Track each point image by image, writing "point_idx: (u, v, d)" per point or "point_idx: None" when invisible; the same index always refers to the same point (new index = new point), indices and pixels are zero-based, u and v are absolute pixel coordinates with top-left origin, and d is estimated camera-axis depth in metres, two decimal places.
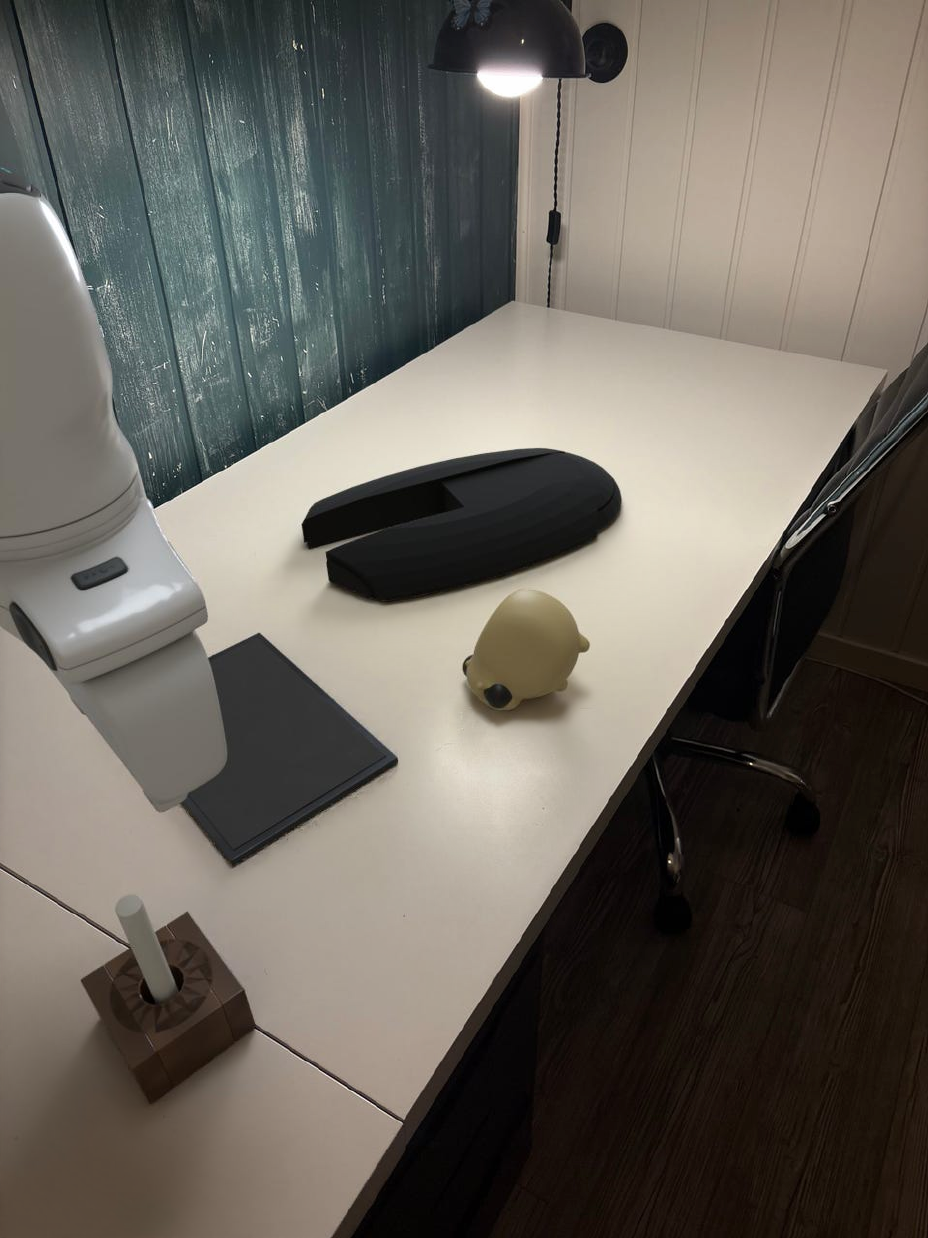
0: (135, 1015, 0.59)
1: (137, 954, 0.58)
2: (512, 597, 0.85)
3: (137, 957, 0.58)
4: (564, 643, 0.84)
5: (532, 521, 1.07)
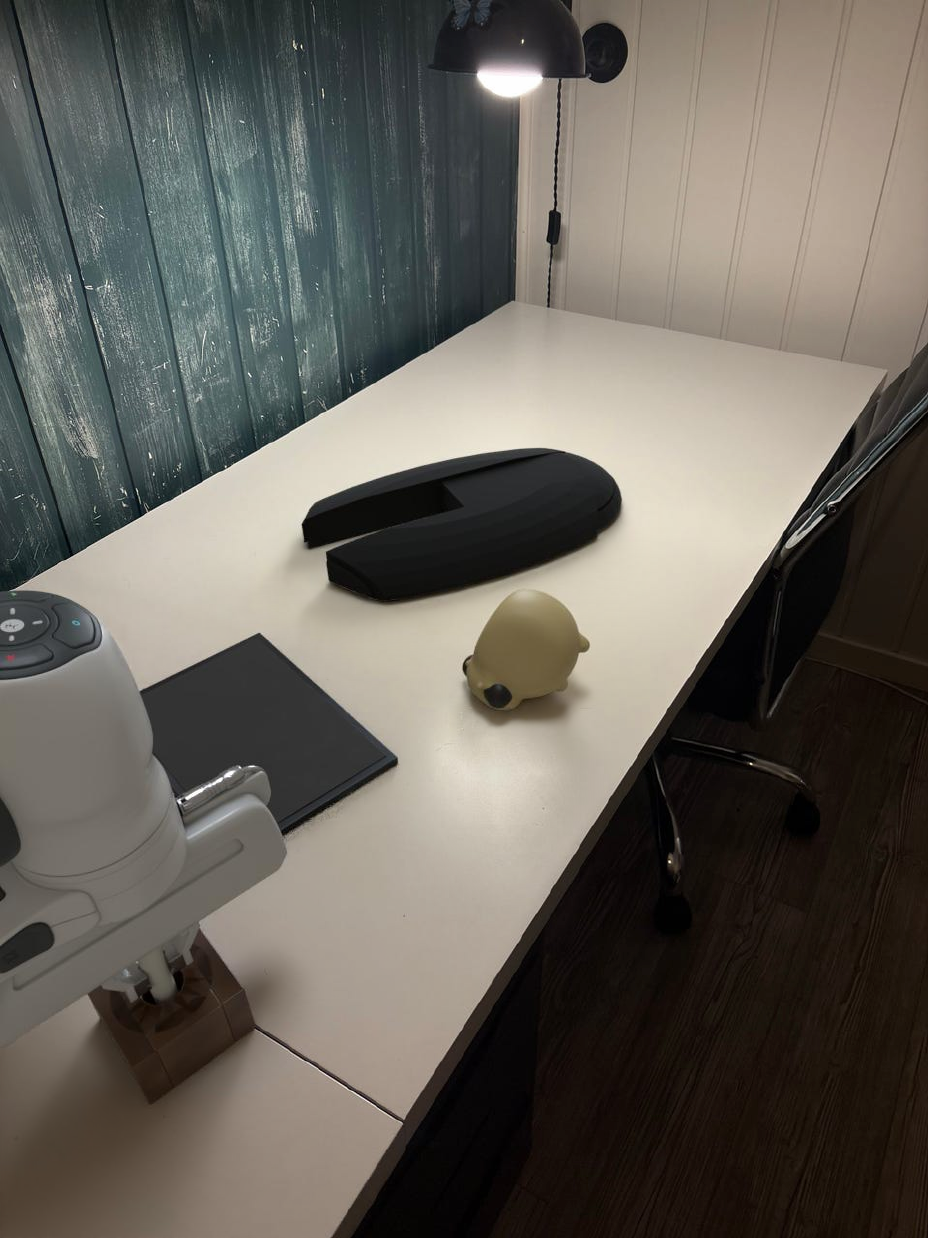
0: (135, 1015, 0.59)
1: None
2: (512, 597, 0.85)
3: None
4: (564, 643, 0.84)
5: (532, 521, 1.07)
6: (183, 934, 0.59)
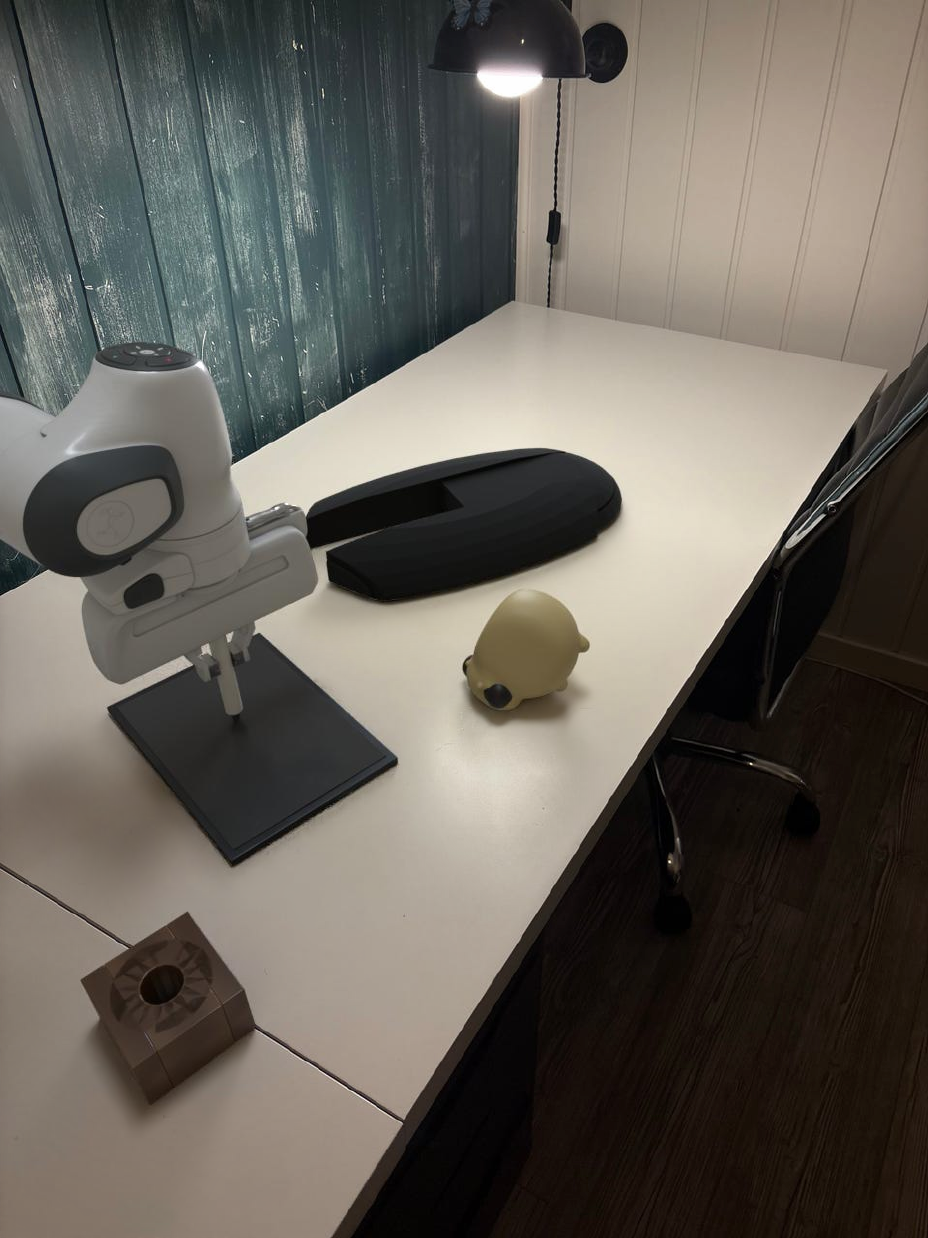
0: (135, 1015, 0.59)
1: (211, 642, 0.80)
2: (512, 597, 0.85)
3: (211, 645, 0.80)
4: (564, 643, 0.84)
5: (532, 521, 1.07)
6: (244, 631, 0.81)
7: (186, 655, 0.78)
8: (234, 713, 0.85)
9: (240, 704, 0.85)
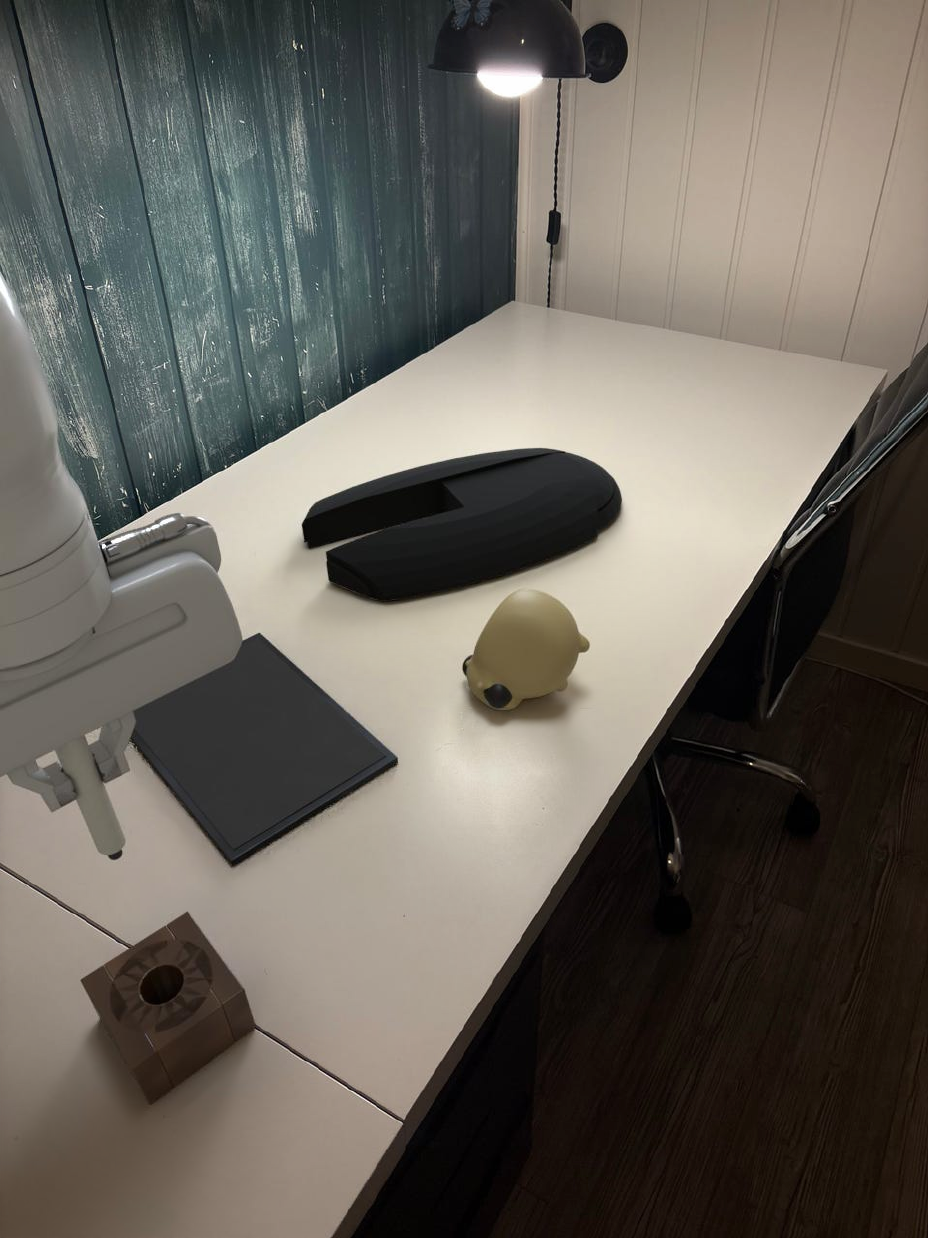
0: (135, 1015, 0.59)
1: (58, 749, 0.47)
2: (512, 597, 0.85)
3: (58, 753, 0.48)
4: (564, 643, 0.84)
5: (532, 521, 1.07)
6: (115, 728, 0.48)
7: (8, 775, 0.46)
8: (110, 852, 0.53)
9: (119, 838, 0.53)
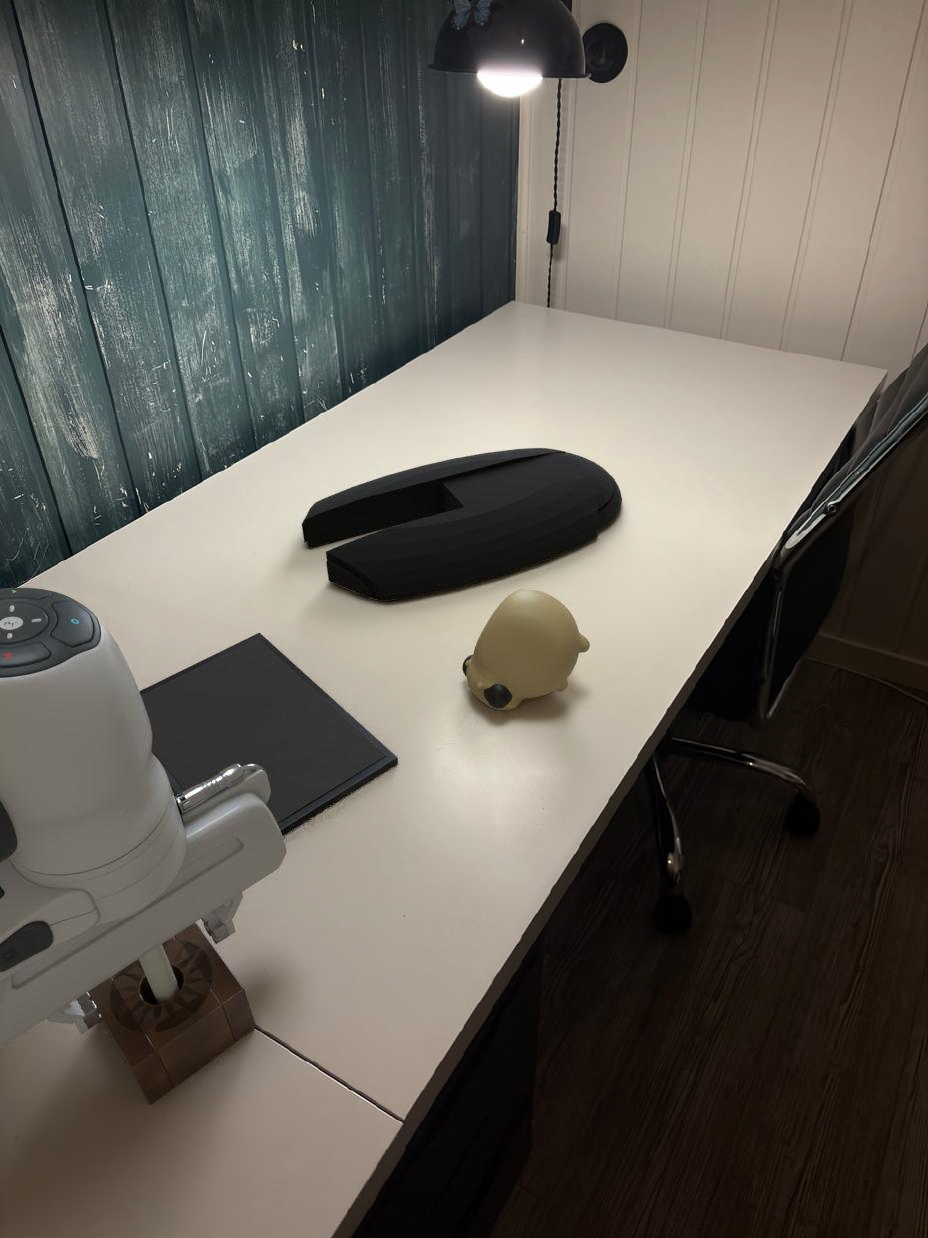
0: (135, 1015, 0.59)
1: None
2: (512, 597, 0.85)
3: None
4: (564, 643, 0.84)
5: (532, 521, 1.07)
6: (227, 904, 0.60)
7: None
8: None
9: None
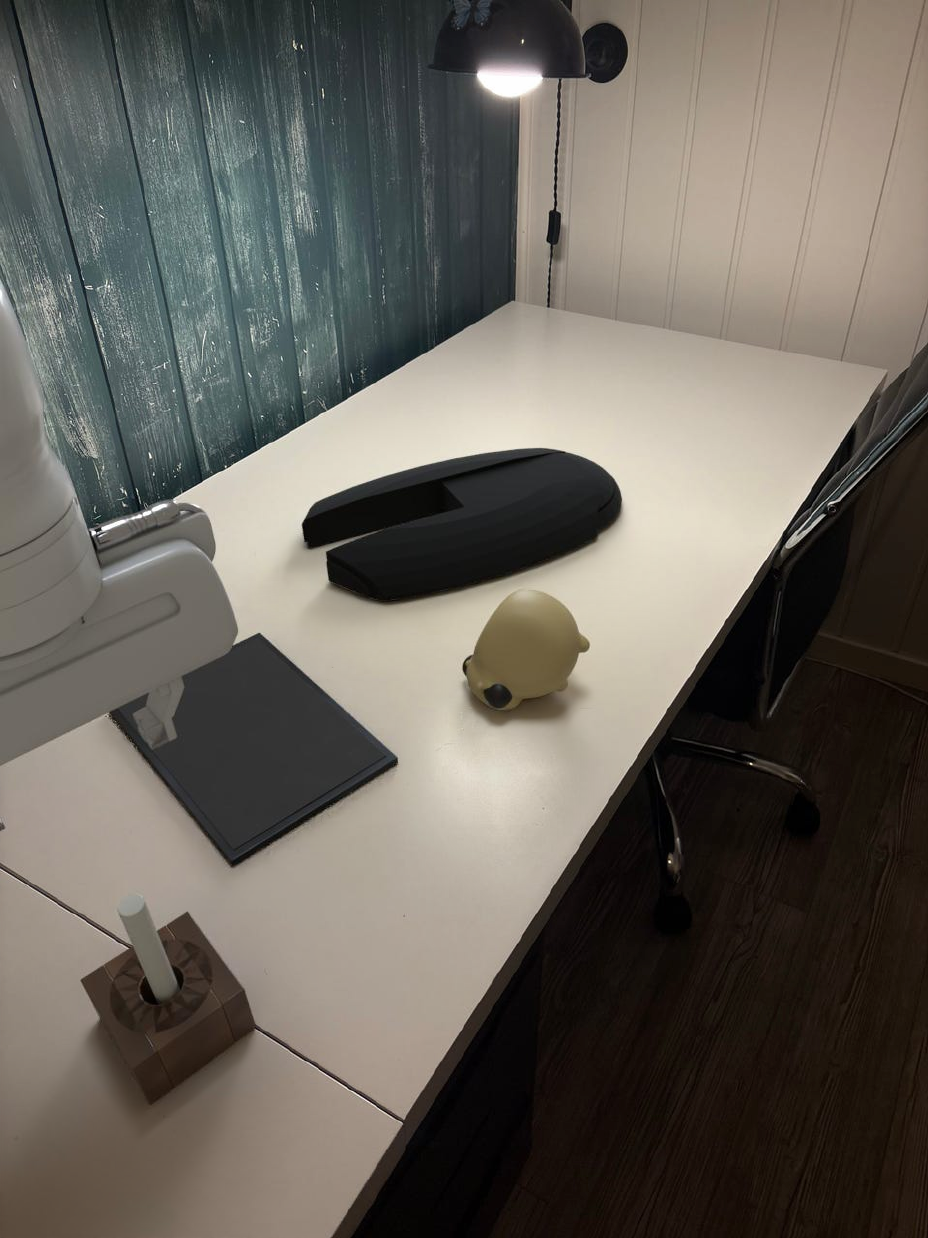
0: (135, 1015, 0.59)
1: (139, 954, 0.58)
2: (512, 597, 0.85)
3: (139, 957, 0.58)
4: (564, 643, 0.84)
5: (532, 521, 1.07)
6: (164, 693, 0.48)
7: None
8: None
9: None
